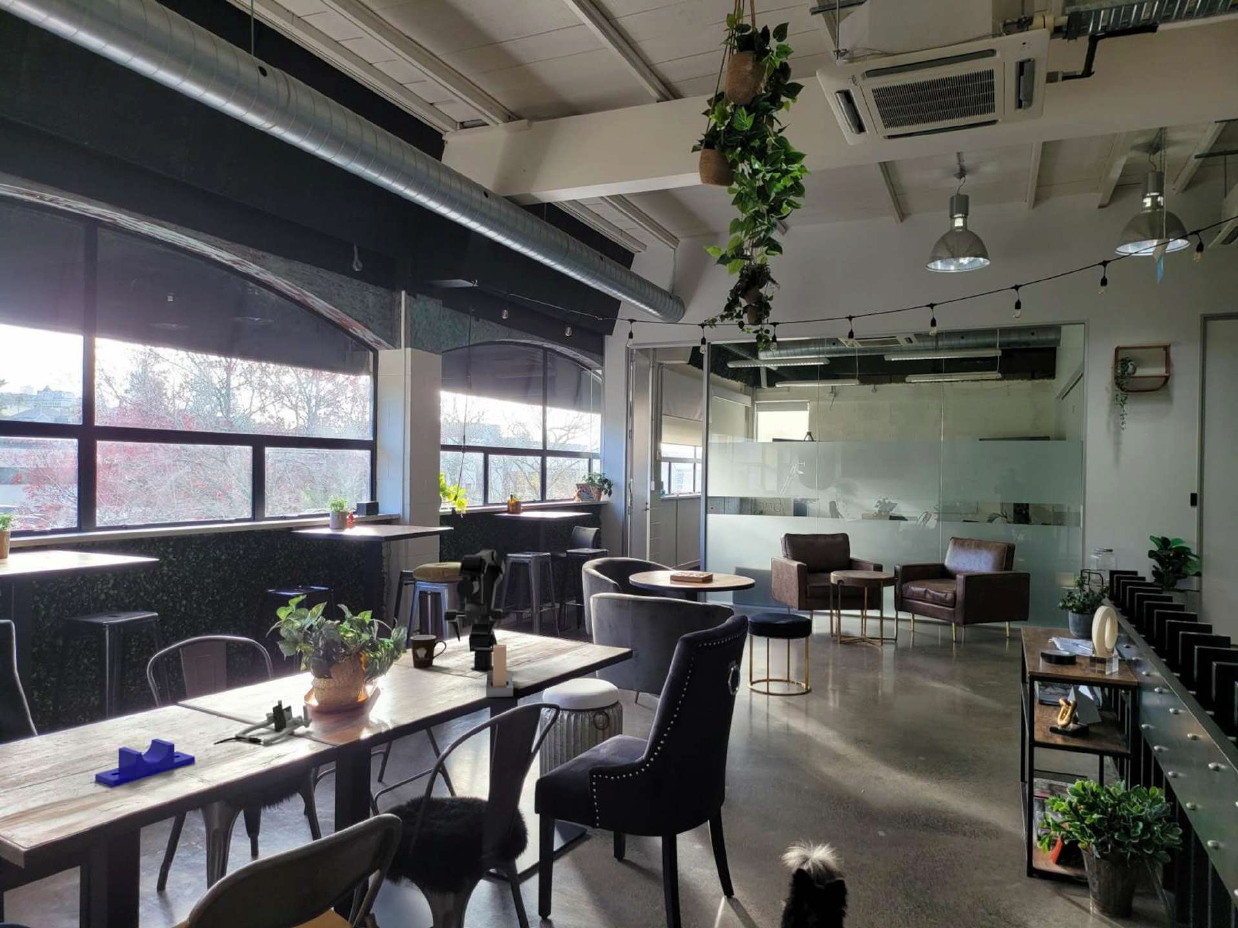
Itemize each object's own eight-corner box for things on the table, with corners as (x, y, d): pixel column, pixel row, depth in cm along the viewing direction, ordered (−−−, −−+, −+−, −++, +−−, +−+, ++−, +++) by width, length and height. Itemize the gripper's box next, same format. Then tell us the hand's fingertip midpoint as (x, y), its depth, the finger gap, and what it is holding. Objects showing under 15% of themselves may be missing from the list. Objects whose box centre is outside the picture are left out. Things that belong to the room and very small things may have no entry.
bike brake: (280, 720, 222) (214, 753, 204) (278, 695, 221) (211, 727, 203) (317, 728, 215) (252, 763, 198) (314, 703, 214) (249, 735, 197)
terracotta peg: (493, 690, 256) (493, 644, 256) (506, 689, 256) (506, 644, 257) (492, 693, 252) (493, 647, 252) (506, 693, 252) (506, 646, 253)
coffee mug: (405, 667, 286) (405, 638, 287) (420, 662, 294) (420, 634, 295) (433, 670, 282) (433, 641, 282) (447, 665, 290) (448, 636, 290)
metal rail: (487, 681, 267) (487, 673, 267) (512, 680, 268) (512, 672, 269) (486, 697, 248) (486, 688, 248) (513, 696, 249) (513, 687, 249)
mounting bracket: (112, 788, 175) (112, 760, 175) (95, 782, 179) (95, 754, 179) (194, 764, 190) (195, 738, 191) (177, 758, 194) (177, 733, 194)
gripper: (443, 597, 263) (442, 646, 263) (502, 596, 266) (502, 644, 266) (445, 592, 274) (445, 639, 274) (502, 591, 277) (502, 638, 277)
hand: (473, 640), depth 272 cm, fingers open, 9 cm apart
